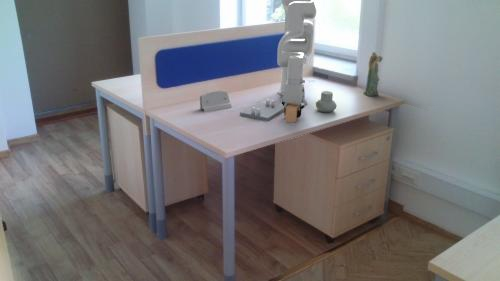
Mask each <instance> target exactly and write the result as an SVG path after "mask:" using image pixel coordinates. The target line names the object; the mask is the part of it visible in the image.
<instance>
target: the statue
mask: <svg viewBox="0 0 500 281" xmlns="http://www.w3.org/2000/svg"><path fill="white" fill-rule="evenodd" d="M382 61H383V56H381V55H377V53H376V52H374V51H373V52H372V53H371V55H370V56H369V61H368V71H367V77H366V86H365V90H363V94H364V95H365V96H367V97H371V96H378V95H379V91H378V85H379V81H380V78H379V74H378V73H379V63H380V62H382Z"/></svg>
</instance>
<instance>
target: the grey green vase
mask: <svg viewBox="0 0 500 281" xmlns="http://www.w3.org/2000/svg"><path fill="white" fill-rule="evenodd" d="M333 95H334V94H333V92H332V91H329V90H323V91H321V94H320V99H318V100H317V101H316V102H315V107H316V109H317V110H318V111H319V112H321V113H331V112H333V111H335V110H336V109H337V103H336V102H335V101H334V100H333V98H334V97H333Z"/></svg>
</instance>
